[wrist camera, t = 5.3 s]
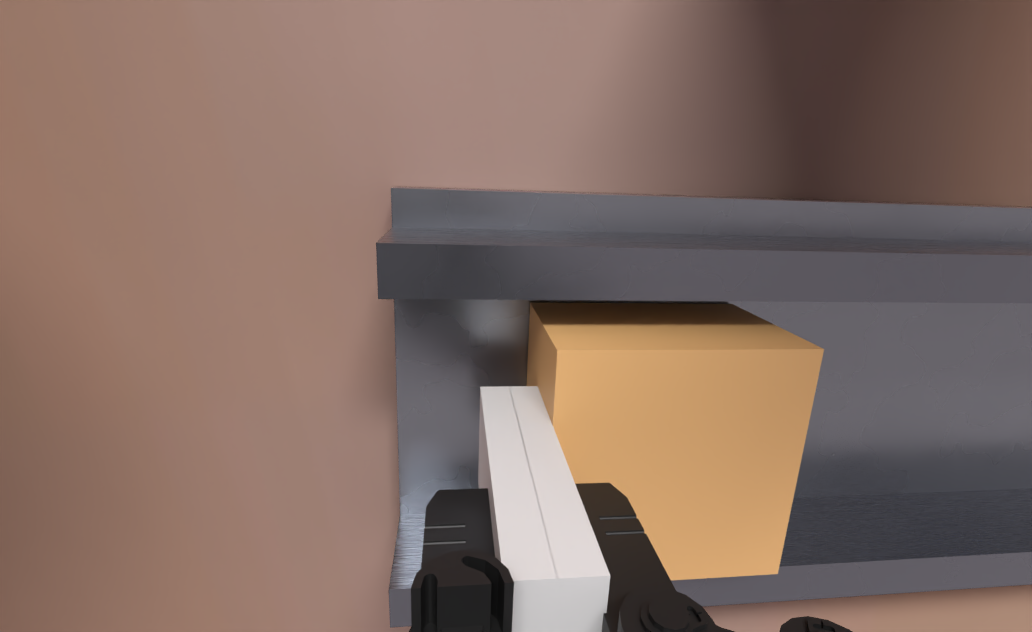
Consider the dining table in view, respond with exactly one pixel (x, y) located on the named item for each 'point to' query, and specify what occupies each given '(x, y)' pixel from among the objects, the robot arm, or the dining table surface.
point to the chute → (783, 302)
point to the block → (682, 422)
